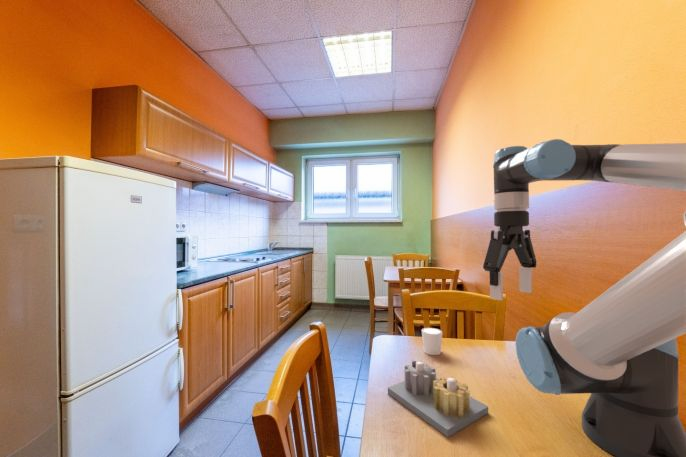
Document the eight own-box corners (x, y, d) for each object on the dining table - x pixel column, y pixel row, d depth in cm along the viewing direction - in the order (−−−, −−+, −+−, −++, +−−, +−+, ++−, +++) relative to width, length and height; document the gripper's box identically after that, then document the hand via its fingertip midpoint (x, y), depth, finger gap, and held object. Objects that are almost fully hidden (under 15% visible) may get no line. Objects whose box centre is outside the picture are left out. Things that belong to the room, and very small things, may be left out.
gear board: (488, 413, 64) (488, 379, 64) (447, 437, 57) (447, 399, 57) (426, 377, 80) (426, 351, 80) (387, 393, 72) (387, 363, 72)
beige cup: (417, 351, 97) (417, 330, 97) (428, 345, 102) (428, 325, 102) (436, 357, 92) (435, 336, 92) (446, 351, 97) (446, 330, 97)
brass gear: (476, 409, 63) (476, 389, 63) (454, 422, 59) (454, 400, 59) (448, 393, 70) (447, 374, 70) (426, 403, 66) (426, 383, 66)
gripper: (521, 212, 81) (521, 287, 81) (466, 210, 68) (467, 299, 68) (551, 211, 75) (551, 292, 75) (497, 208, 62) (498, 306, 62)
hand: (511, 295), depth 72 cm, fingers open, 13 cm apart
